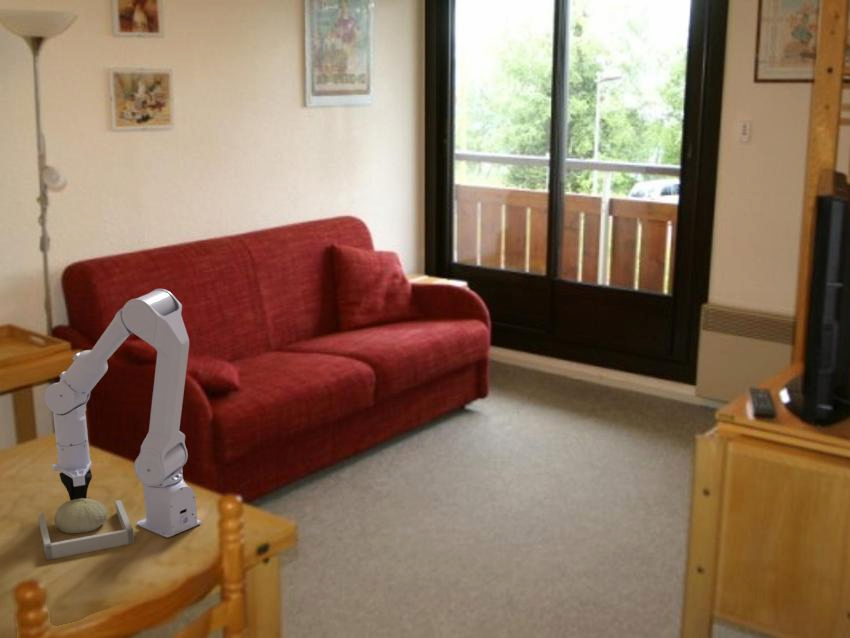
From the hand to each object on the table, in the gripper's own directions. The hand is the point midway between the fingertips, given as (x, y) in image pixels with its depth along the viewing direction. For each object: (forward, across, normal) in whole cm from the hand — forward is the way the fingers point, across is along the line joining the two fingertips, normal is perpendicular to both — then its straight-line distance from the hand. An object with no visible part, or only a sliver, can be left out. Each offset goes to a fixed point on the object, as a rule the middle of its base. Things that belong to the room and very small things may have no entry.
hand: (79, 508), depth 202 cm
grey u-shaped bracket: (+1, +10, 0) cm, 10 cm away
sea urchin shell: (+2, +6, 0) cm, 6 cm away
